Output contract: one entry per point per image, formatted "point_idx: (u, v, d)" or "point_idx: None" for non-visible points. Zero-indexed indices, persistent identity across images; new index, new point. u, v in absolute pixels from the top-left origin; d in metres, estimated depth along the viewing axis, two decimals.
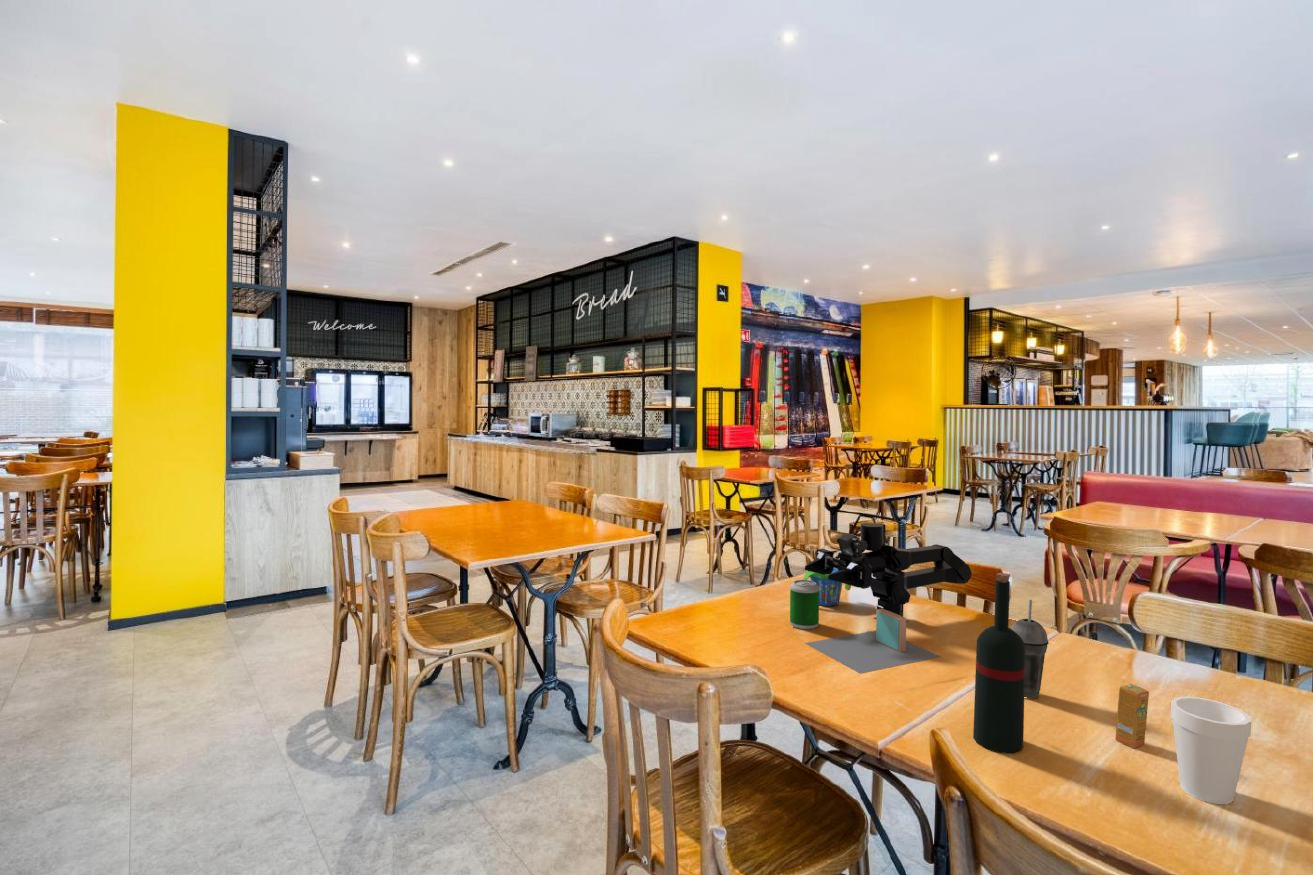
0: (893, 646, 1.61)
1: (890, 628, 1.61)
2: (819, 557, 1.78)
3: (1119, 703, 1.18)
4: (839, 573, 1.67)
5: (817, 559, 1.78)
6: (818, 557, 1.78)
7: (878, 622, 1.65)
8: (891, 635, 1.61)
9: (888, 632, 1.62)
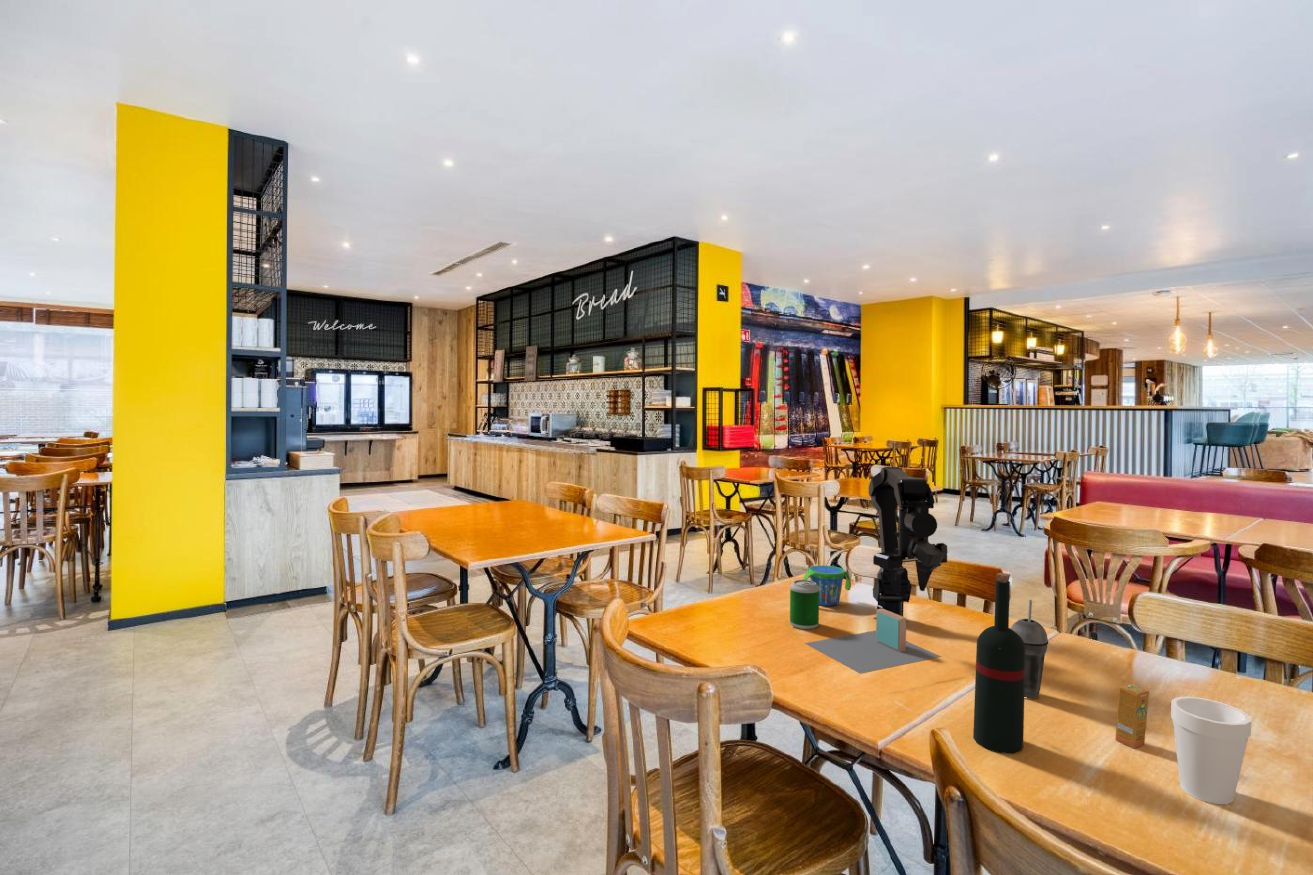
0: (893, 646, 1.61)
1: (890, 628, 1.61)
2: (899, 573, 1.61)
3: (1119, 703, 1.18)
4: None
5: (899, 576, 1.61)
6: (898, 574, 1.61)
7: (878, 622, 1.65)
8: (891, 635, 1.61)
9: (888, 632, 1.62)
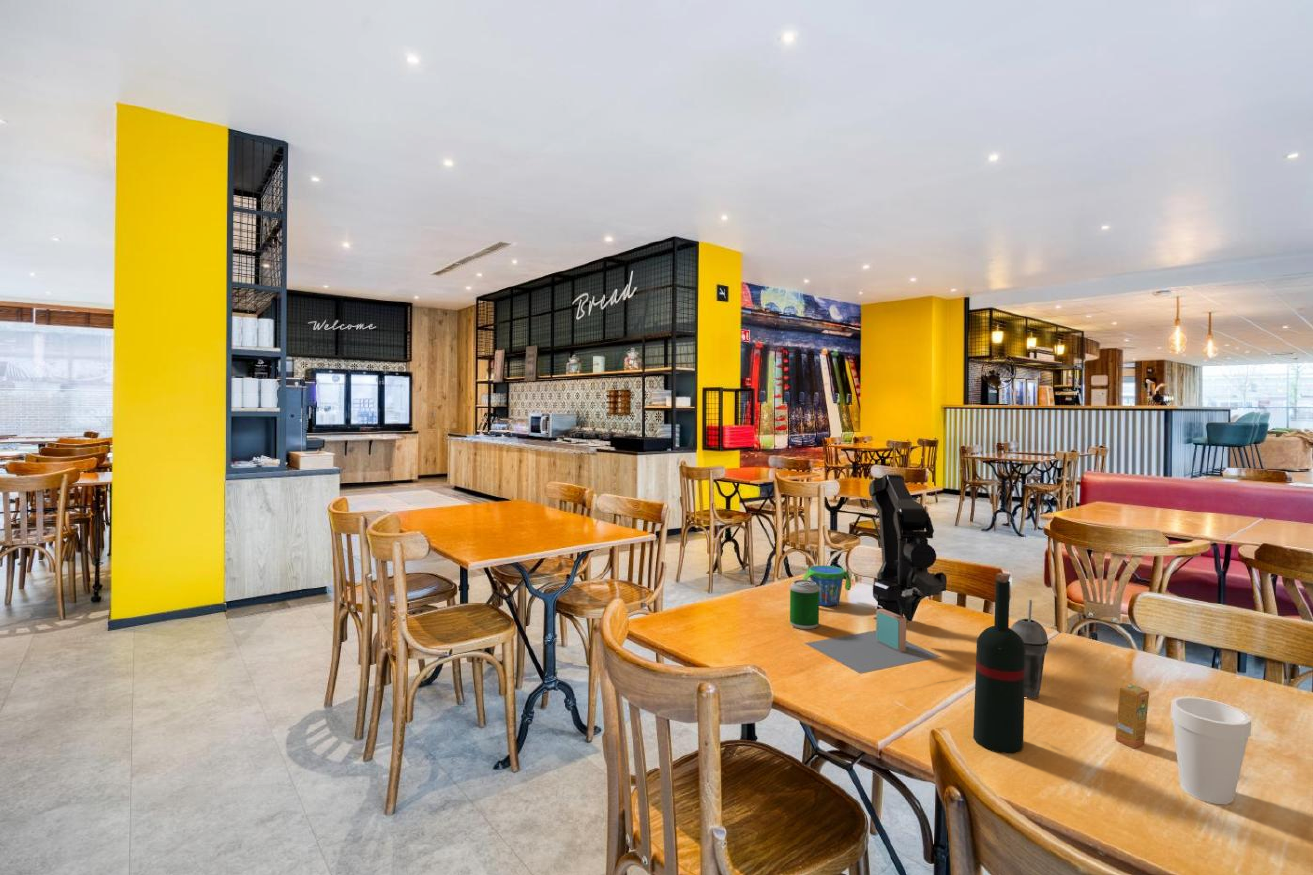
0: (893, 646, 1.61)
1: (890, 628, 1.61)
2: (910, 601, 1.63)
3: (1120, 703, 1.18)
4: None
5: (910, 604, 1.63)
6: (909, 601, 1.63)
7: (878, 622, 1.65)
8: (891, 635, 1.61)
9: (888, 632, 1.62)
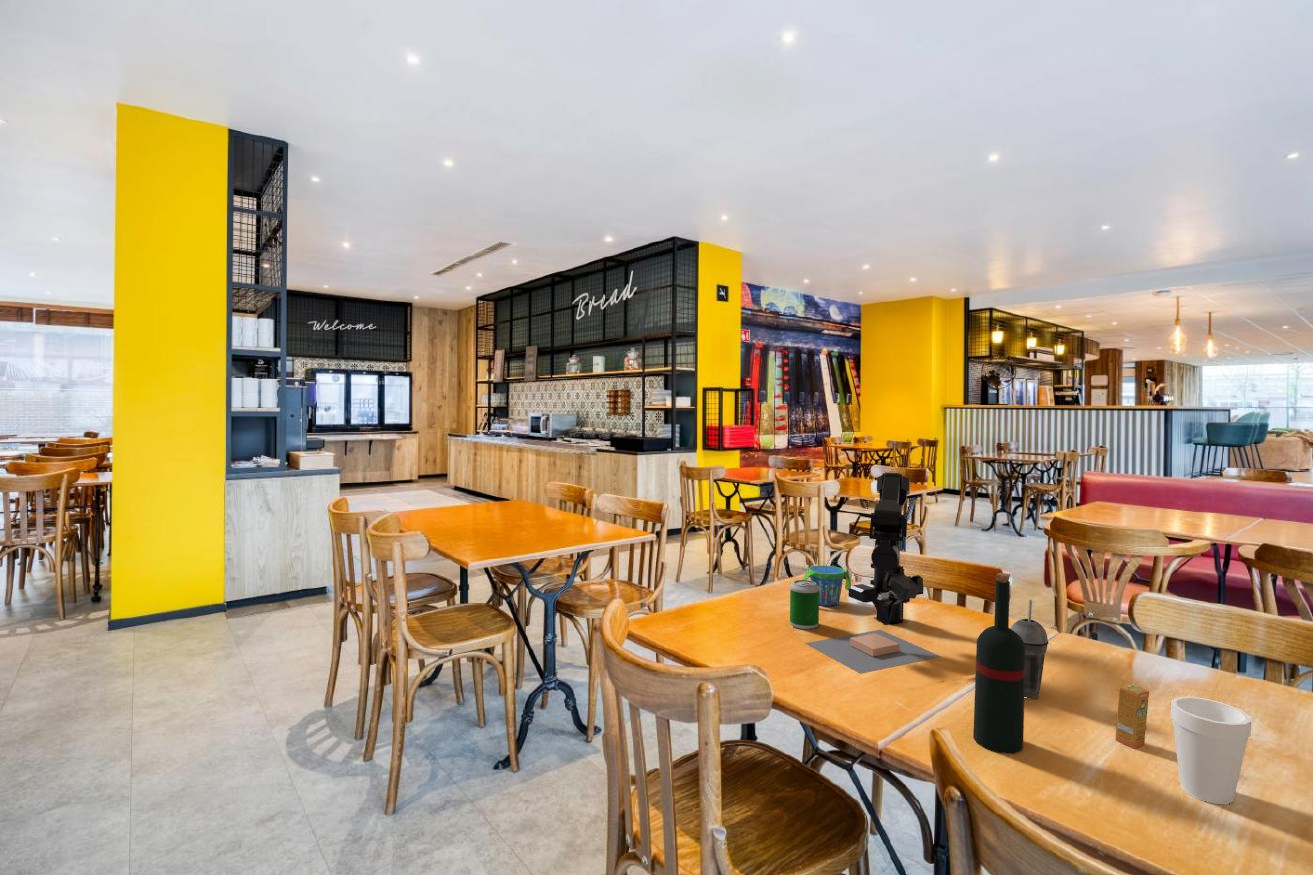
0: None
1: None
2: (887, 604, 1.60)
3: (1120, 703, 1.18)
4: None
5: (886, 607, 1.60)
6: (886, 605, 1.59)
7: None
8: None
9: None
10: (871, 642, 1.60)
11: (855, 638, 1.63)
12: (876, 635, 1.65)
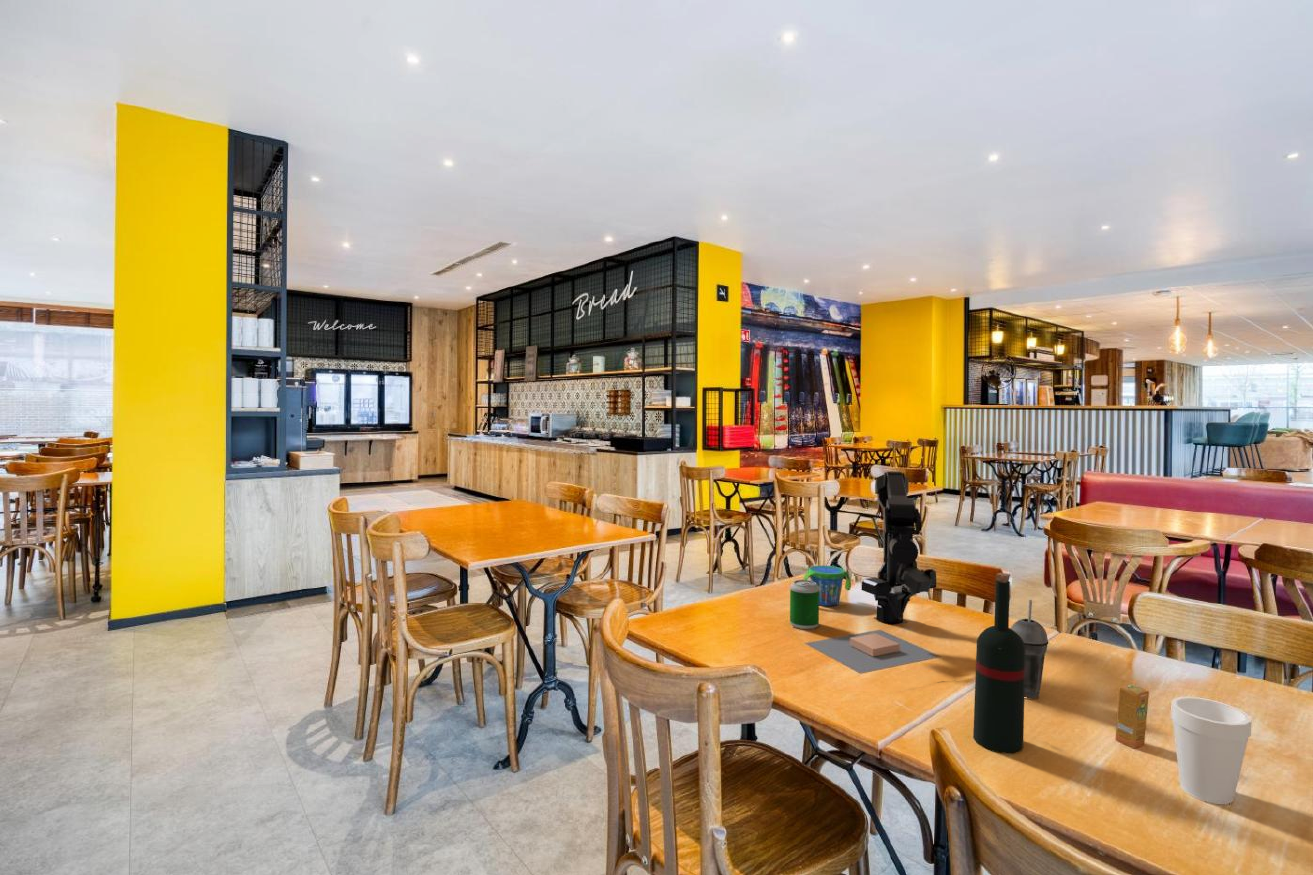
0: None
1: None
2: (900, 598, 1.60)
3: (1119, 703, 1.18)
4: None
5: (899, 601, 1.61)
6: (899, 598, 1.60)
7: None
8: None
9: None
10: (871, 642, 1.60)
11: (855, 638, 1.63)
12: (876, 635, 1.65)
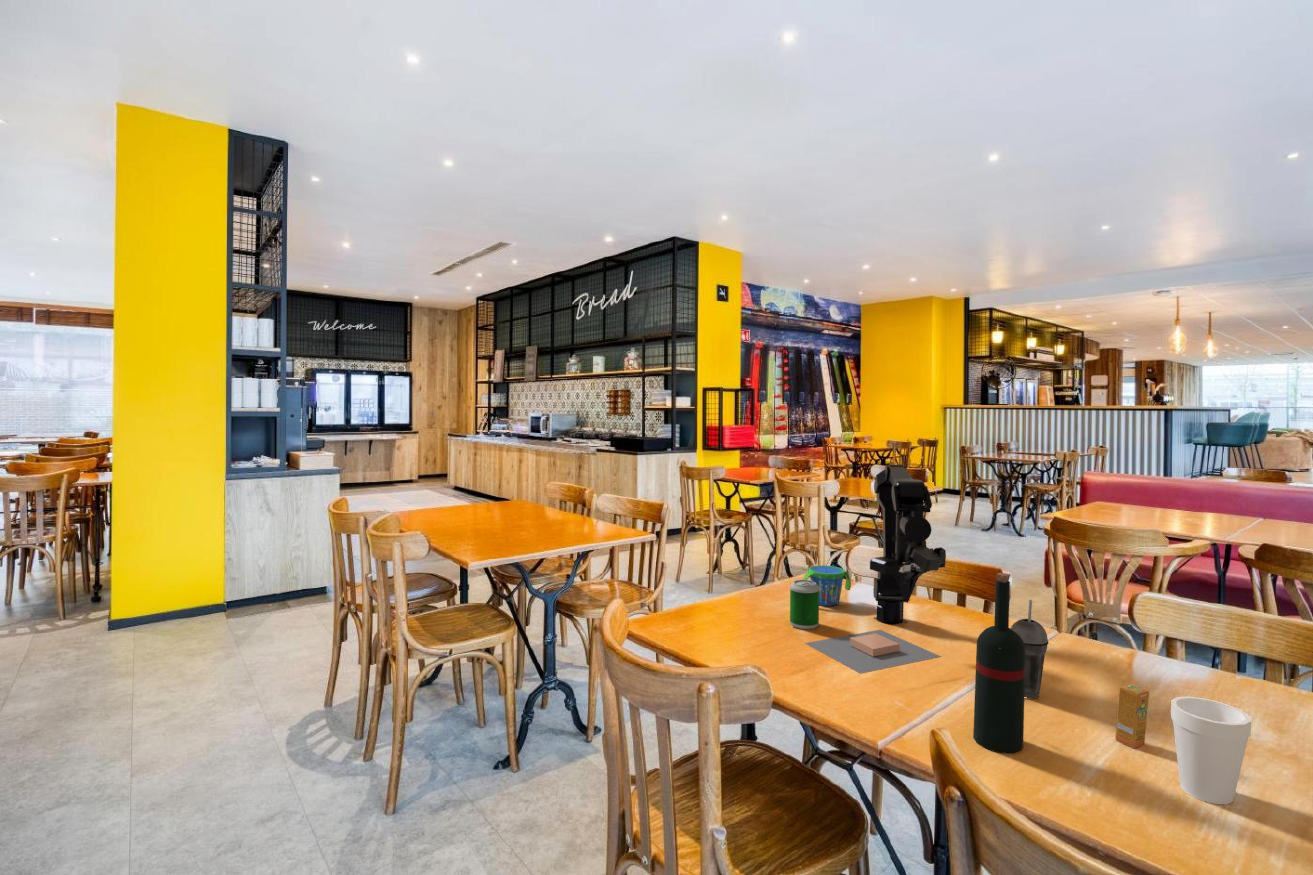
0: None
1: None
2: (909, 577, 1.58)
3: (1120, 703, 1.18)
4: None
5: (908, 580, 1.58)
6: (907, 577, 1.58)
7: None
8: None
9: None
10: (871, 642, 1.60)
11: (855, 638, 1.63)
12: (876, 635, 1.65)
